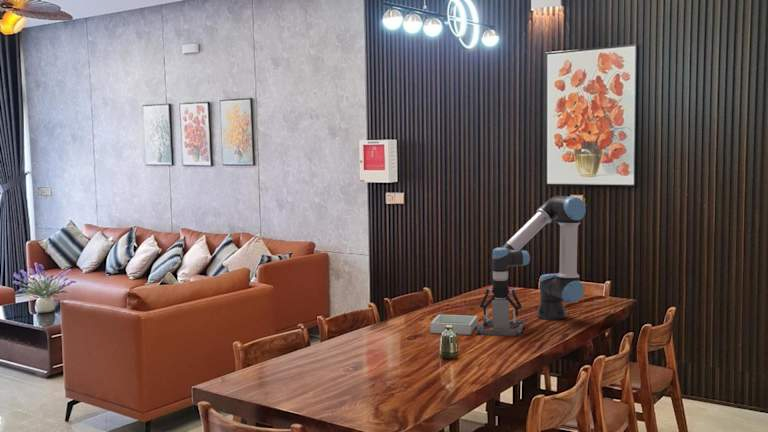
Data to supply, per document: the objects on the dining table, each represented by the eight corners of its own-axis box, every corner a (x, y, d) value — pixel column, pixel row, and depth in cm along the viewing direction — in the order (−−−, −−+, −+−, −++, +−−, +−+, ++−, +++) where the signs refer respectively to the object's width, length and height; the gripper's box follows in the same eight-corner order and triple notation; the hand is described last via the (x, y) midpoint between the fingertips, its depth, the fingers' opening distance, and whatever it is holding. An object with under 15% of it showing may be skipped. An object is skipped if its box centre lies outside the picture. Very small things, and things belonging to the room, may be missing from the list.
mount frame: (524, 326, 380) (524, 318, 380) (520, 336, 360) (520, 328, 360) (483, 324, 386) (483, 317, 386) (476, 334, 366) (476, 326, 366)
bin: (477, 325, 385) (477, 316, 384) (470, 334, 366) (470, 324, 365) (439, 324, 390) (438, 314, 390) (430, 332, 371) (430, 322, 371)
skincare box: (509, 328, 377) (508, 297, 375) (510, 332, 369) (509, 300, 368) (492, 328, 377) (491, 297, 376) (492, 332, 370) (492, 300, 369)
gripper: (526, 278, 371) (527, 321, 373) (476, 277, 378) (477, 319, 380) (525, 281, 364) (525, 324, 366) (474, 280, 371) (474, 322, 373)
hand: (500, 322), depth 373 cm, fingers open, 13 cm apart
